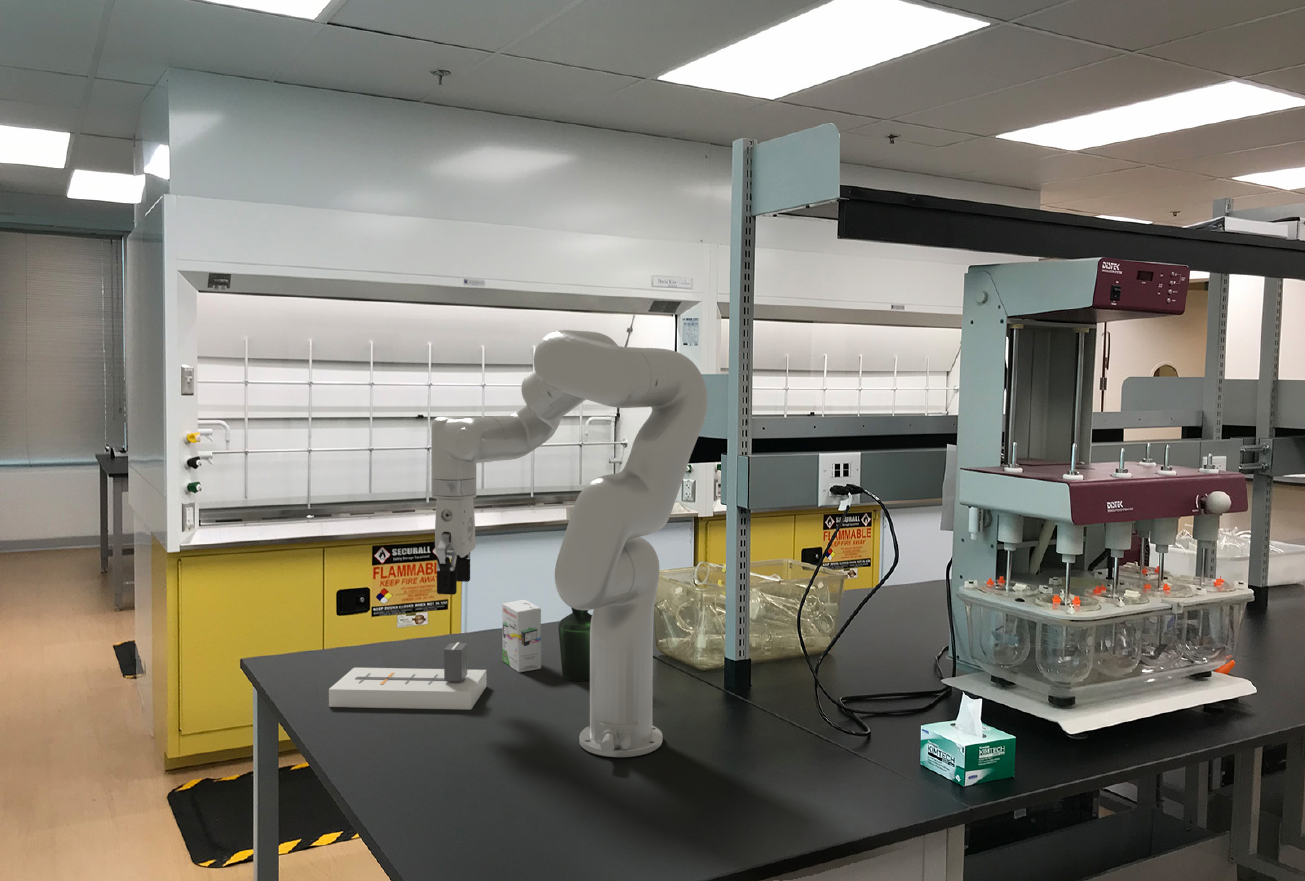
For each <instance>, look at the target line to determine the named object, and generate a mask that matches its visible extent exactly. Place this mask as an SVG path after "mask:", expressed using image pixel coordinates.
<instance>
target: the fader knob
mask: <svg viewBox="0 0 1305 881" xmlns="http://www.w3.org/2000/svg"><path fill="white" fill-rule="evenodd" d="M443 659H444V660H443V662H444V663H443V665H444V666H443V667H444V668H443V669H444V681H455V682H462V681H463V679H464V678H465V677H466V675H467V670H468V643H467V642H466V643H462V642H459V641H458V642H449V644H447V646H446V647H445V648H444V649H443Z"/></svg>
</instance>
